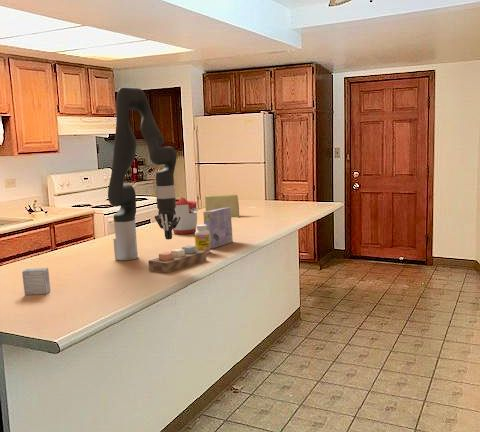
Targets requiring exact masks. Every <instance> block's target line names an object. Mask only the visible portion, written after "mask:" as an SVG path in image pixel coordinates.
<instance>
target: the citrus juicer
mask: <svg viewBox="0 0 480 432" xmlns="http://www.w3.org/2000/svg"><path fill="white" fill-rule="evenodd" d="M197 203H198V202H197V201H195V200H187V199H186V198H184V197H183V196H182V197H181V198H180V199H178V201H176V208H175V212H176V216H177V217H180V221H179V222H178V224H177V226H176V228H174V229H172V232H173V233H174V234H178V235H181V234H182V235H187V234H193V233H195V232H196V231H197V225H198V213H199V210H198V209H197V208H198V207H197V205H198V204H197Z"/></svg>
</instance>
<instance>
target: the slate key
mask: <svg viewBox="0 0 480 432" xmlns="http://www.w3.org/2000/svg"><path fill="white" fill-rule="evenodd" d="M181 249H184V251H185V254H192V253H195V252H196V246H195V245H185V246H182V248H181Z"/></svg>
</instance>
